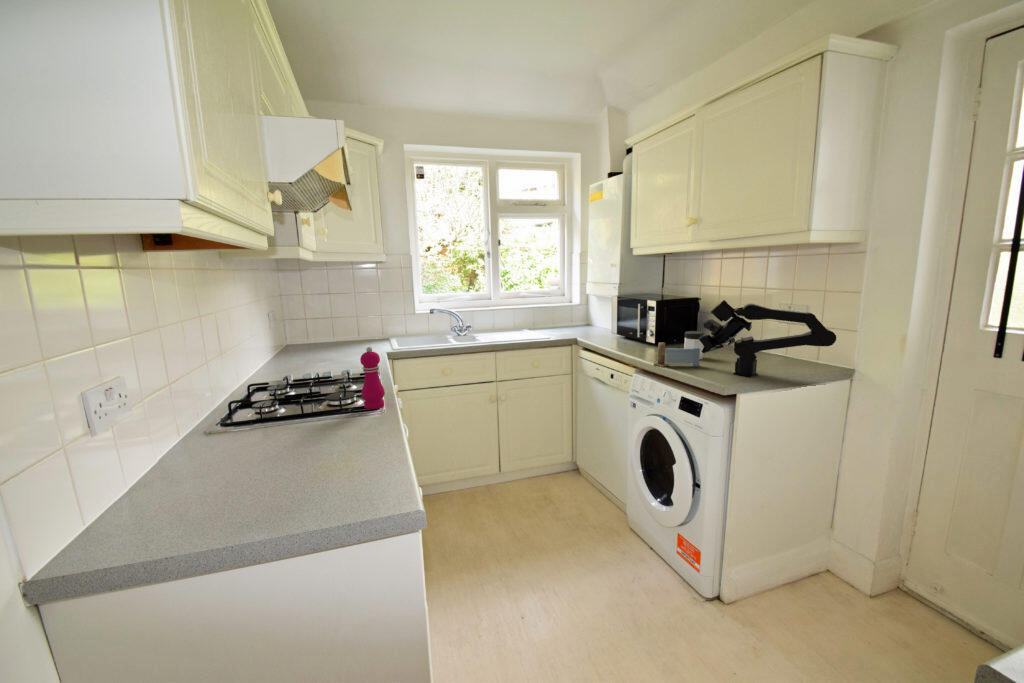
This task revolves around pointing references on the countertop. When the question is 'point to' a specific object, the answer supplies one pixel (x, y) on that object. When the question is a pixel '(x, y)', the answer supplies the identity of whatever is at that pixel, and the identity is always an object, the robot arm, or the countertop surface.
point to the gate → (683, 355)
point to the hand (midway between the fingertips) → (702, 352)
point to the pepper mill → (372, 381)
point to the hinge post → (661, 355)
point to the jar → (693, 341)
